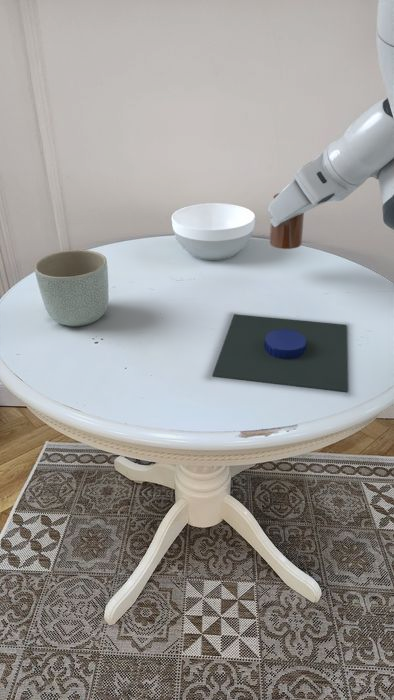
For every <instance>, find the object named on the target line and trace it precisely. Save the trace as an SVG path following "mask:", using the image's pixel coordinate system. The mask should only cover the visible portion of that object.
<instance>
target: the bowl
mask: <svg viewBox="0 0 394 700" xmlns="http://www.w3.org/2000/svg"><path fill="white" fill-rule="evenodd" d="M255 223H256V215H255V213H254V212H253V211H252V210H251V209H249V208H248V207H247V208H246V207H244V206H241V205H236V204H231V203H222V202H221V203H220V202H219V203H218V202H217V203H216V202H214V203H213V202H210V203H198V204H197V203H196V204H191V205H188V206H185V207H182V208H179V209H177V210H175V211H174V212H173V213H172V215H171V224H172V230H173V234H174V236H175V240H176V241H177V242H178V244H179V245H180V246H181V247H182V249H183V250H185V251H186V252H188V253H189V254H190V255H191V256H192V257H194V258H196V259H199V260H204V261H223V260H227V259H231V258H232V257H235V255H237V253H239V252H240V251H242V250H243V249H244V248H245V247H246V246H247V244H248V243H249V242H250V241H251V238H252V235H253V232H254V229H255Z"/></svg>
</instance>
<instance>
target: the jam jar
mask: <svg viewBox="0 0 394 700" xmlns="http://www.w3.org/2000/svg"><path fill="white" fill-rule="evenodd" d="M279 193H280V192H278V193H275V194H274V195H273V200H274V199H275V198H276V197H277V196H278V194H279ZM271 218H272V216H271V215H270V219H271ZM304 220H305V213H302V214H299V215H297V216H295V217H293V218H291V219H289V220H286V221H284V222H283V223H281V224H280V225H279V226H277V227H274V226H273V225H272V223H271V222H270V223H269V225H270V226H269V227H270V228H269V230H270V231H269V244H270V246H271V247H273V248H276V249H280V250H281V249H282V250H290V249H291V250H292V249H297V248H299V247H301V245H302V243H303V233H304V232H303V231H304Z"/></svg>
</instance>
